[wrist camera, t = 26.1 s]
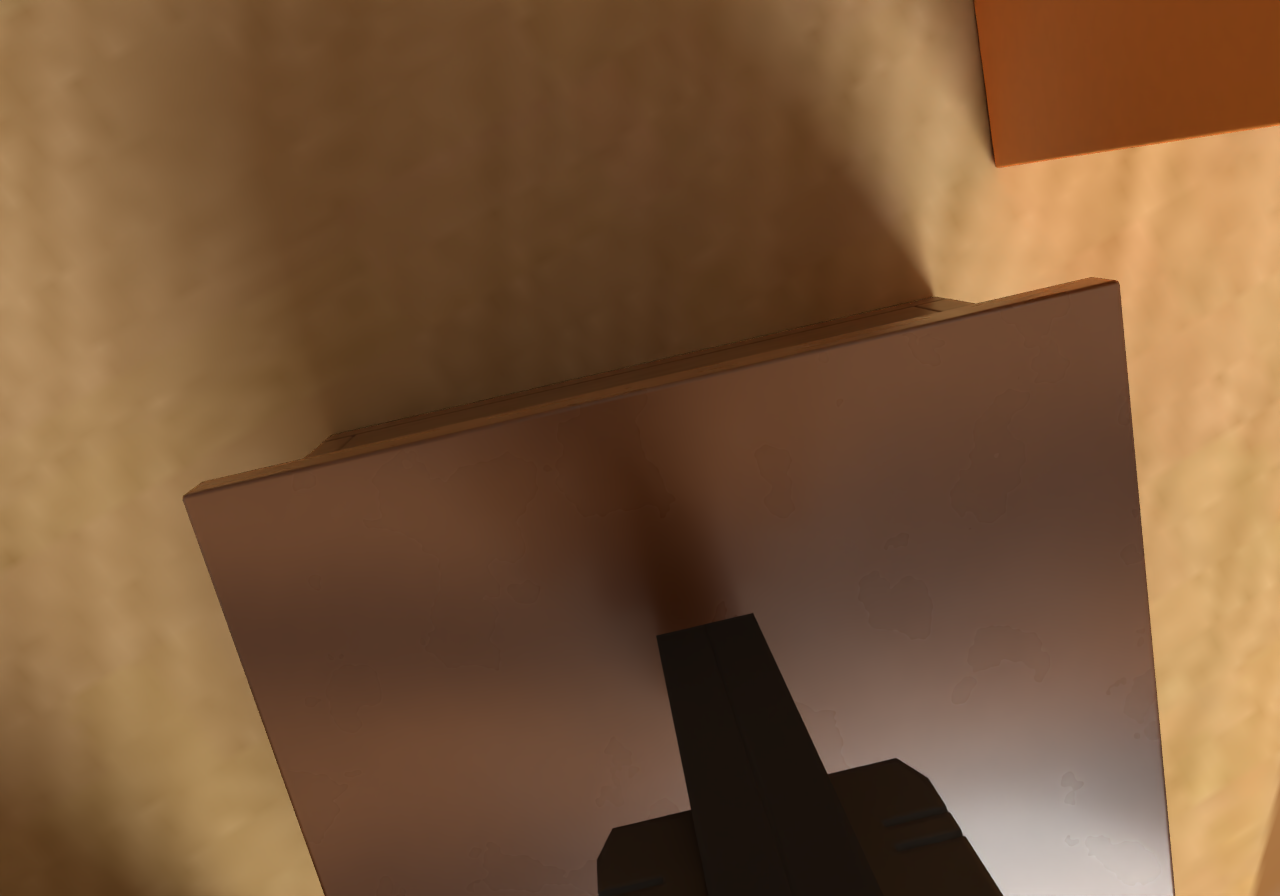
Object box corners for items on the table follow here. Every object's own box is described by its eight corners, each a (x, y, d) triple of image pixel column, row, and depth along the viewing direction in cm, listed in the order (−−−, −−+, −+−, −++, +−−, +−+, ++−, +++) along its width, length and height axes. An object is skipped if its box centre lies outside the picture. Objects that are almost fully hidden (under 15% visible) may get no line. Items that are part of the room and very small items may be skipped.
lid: (199, 482, 15) (178, 496, 14) (1094, 275, 15) (1121, 279, 15) (481, 1281, 20) (477, 1325, 19) (1175, 1113, 20) (1200, 1150, 19)
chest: (329, 435, 22) (225, 520, 16) (936, 295, 23) (1084, 322, 16) (505, 1015, 26) (481, 1279, 20) (1024, 891, 26) (1174, 1111, 20)
